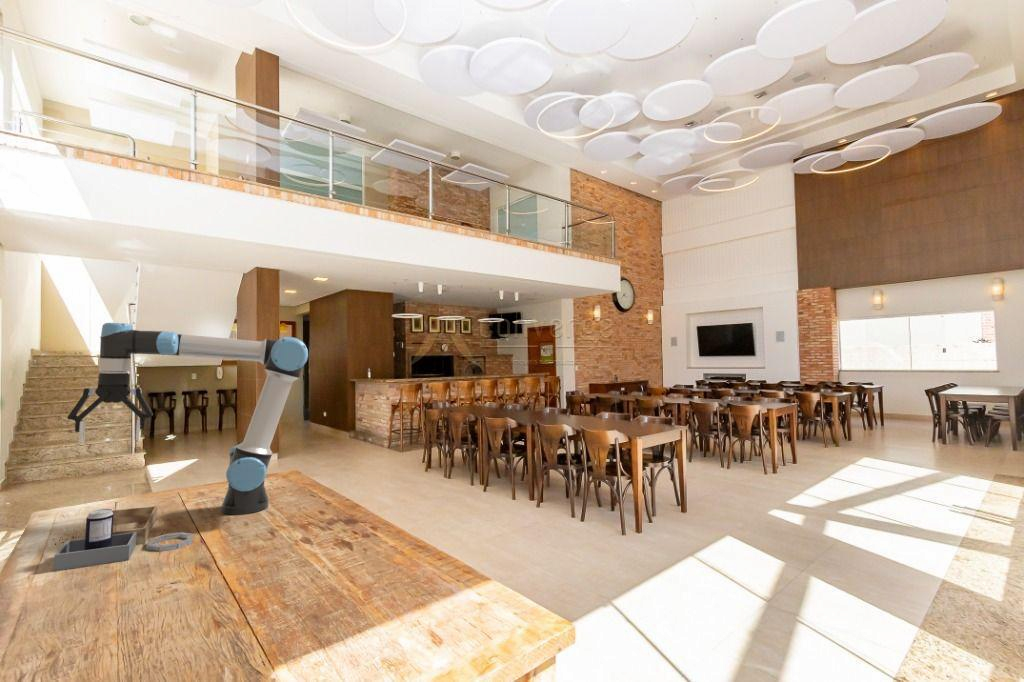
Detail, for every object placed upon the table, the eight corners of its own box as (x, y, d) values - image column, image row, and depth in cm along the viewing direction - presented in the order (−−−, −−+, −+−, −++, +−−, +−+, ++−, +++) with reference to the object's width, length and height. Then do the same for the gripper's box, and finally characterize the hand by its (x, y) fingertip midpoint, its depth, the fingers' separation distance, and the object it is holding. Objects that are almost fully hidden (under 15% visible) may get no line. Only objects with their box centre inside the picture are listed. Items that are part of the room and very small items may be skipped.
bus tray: (135, 545, 140) (136, 531, 140) (128, 560, 130) (129, 545, 130) (66, 555, 132) (67, 540, 132) (53, 571, 122) (54, 555, 122)
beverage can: (116, 551, 134) (119, 508, 135) (100, 559, 128) (103, 514, 129) (94, 551, 134) (97, 508, 134) (78, 560, 128) (81, 514, 128)
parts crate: (156, 519, 162) (157, 505, 162) (144, 543, 141) (145, 528, 141) (106, 525, 156) (107, 511, 156) (86, 551, 135) (87, 535, 135)
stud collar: (193, 534, 149) (194, 530, 149) (191, 546, 140) (191, 542, 140) (150, 540, 144) (150, 536, 144) (144, 553, 134) (144, 549, 134)
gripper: (165, 372, 158) (161, 437, 157) (64, 371, 146) (60, 441, 145) (162, 373, 152) (158, 440, 151) (57, 372, 139) (52, 445, 138)
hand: (110, 441), depth 148 cm, fingers open, 13 cm apart
